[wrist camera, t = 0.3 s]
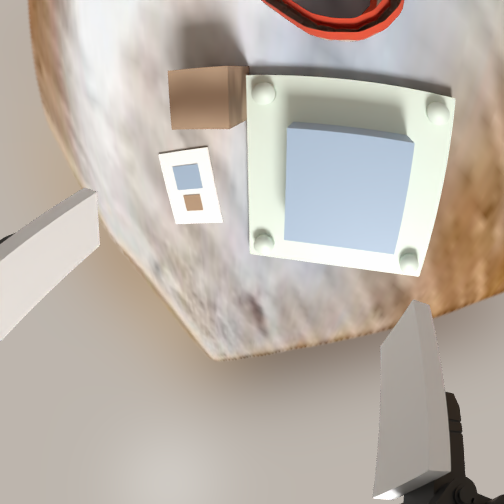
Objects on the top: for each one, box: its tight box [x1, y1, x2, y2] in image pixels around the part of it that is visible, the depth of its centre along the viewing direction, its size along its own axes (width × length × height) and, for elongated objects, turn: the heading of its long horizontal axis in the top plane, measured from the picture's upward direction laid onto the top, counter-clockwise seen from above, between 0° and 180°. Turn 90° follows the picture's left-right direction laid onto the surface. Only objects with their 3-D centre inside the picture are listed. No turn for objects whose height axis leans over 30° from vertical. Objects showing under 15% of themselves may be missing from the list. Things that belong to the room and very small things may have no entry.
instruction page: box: [158, 147, 223, 224], centre depth 40 cm, size 10×7×1 cm
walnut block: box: [168, 66, 249, 130], centre depth 30 cm, size 6×6×7 cm
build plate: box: [246, 75, 455, 277], centre depth 33 cm, size 22×22×2 cm
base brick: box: [284, 122, 415, 255], centre depth 32 cm, size 12×12×4 cm
